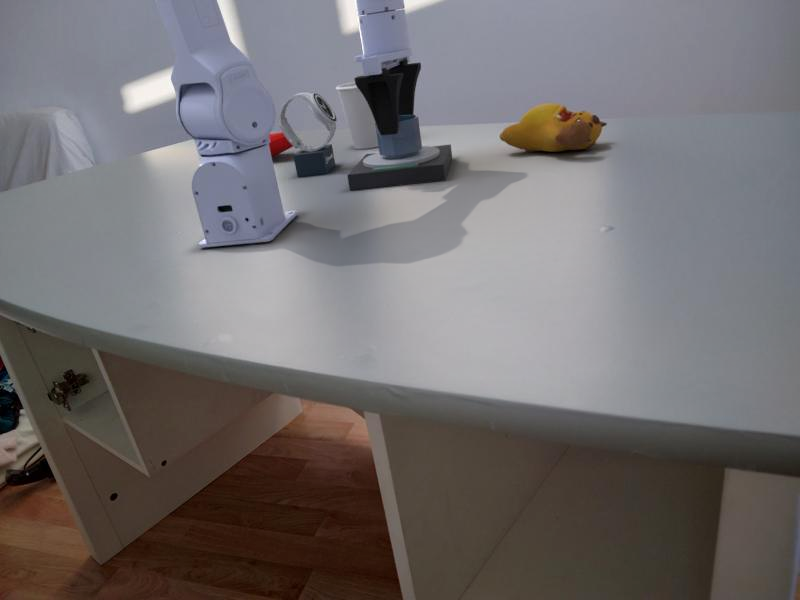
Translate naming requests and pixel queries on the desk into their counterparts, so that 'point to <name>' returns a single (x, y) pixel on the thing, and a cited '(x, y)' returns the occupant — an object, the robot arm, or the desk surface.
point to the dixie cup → (358, 116)
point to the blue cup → (401, 139)
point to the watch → (312, 157)
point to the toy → (553, 129)
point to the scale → (401, 169)
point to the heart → (278, 143)
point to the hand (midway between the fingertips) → (397, 128)
